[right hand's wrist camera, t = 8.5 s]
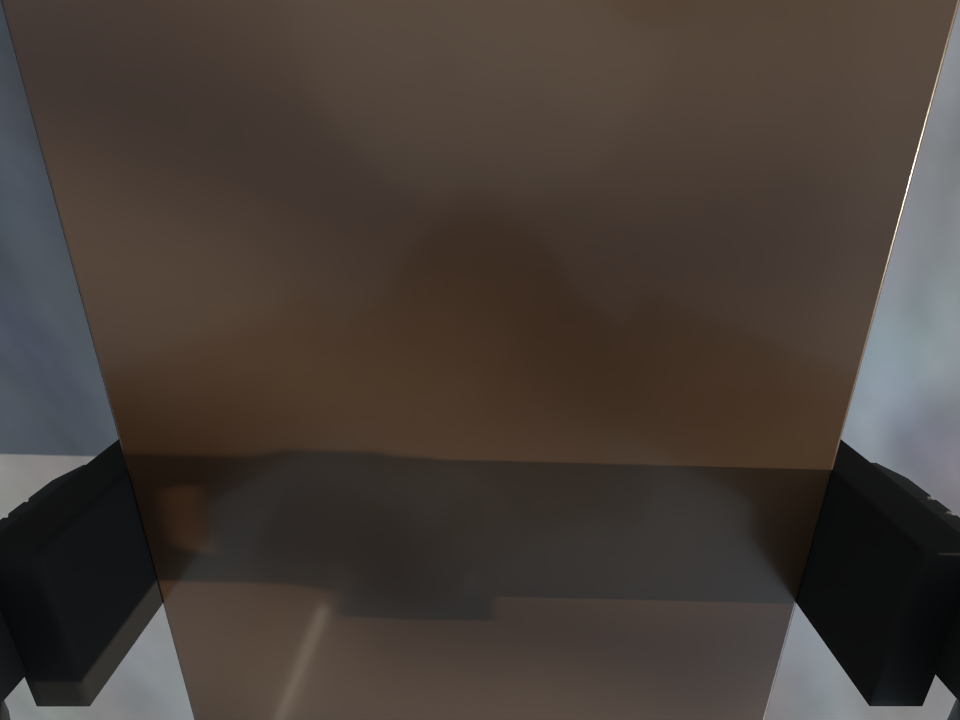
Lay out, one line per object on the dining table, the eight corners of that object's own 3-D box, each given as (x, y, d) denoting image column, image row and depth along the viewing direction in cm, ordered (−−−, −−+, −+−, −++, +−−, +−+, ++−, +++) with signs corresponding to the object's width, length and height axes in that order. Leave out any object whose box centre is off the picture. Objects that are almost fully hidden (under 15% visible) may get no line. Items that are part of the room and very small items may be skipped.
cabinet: (247, -330, 13) (-532, -1952, 3) (714, -330, 13) (1494, -1950, 3) (334, 463, 21) (199, 746, 11) (625, 463, 21) (758, 747, 11)
